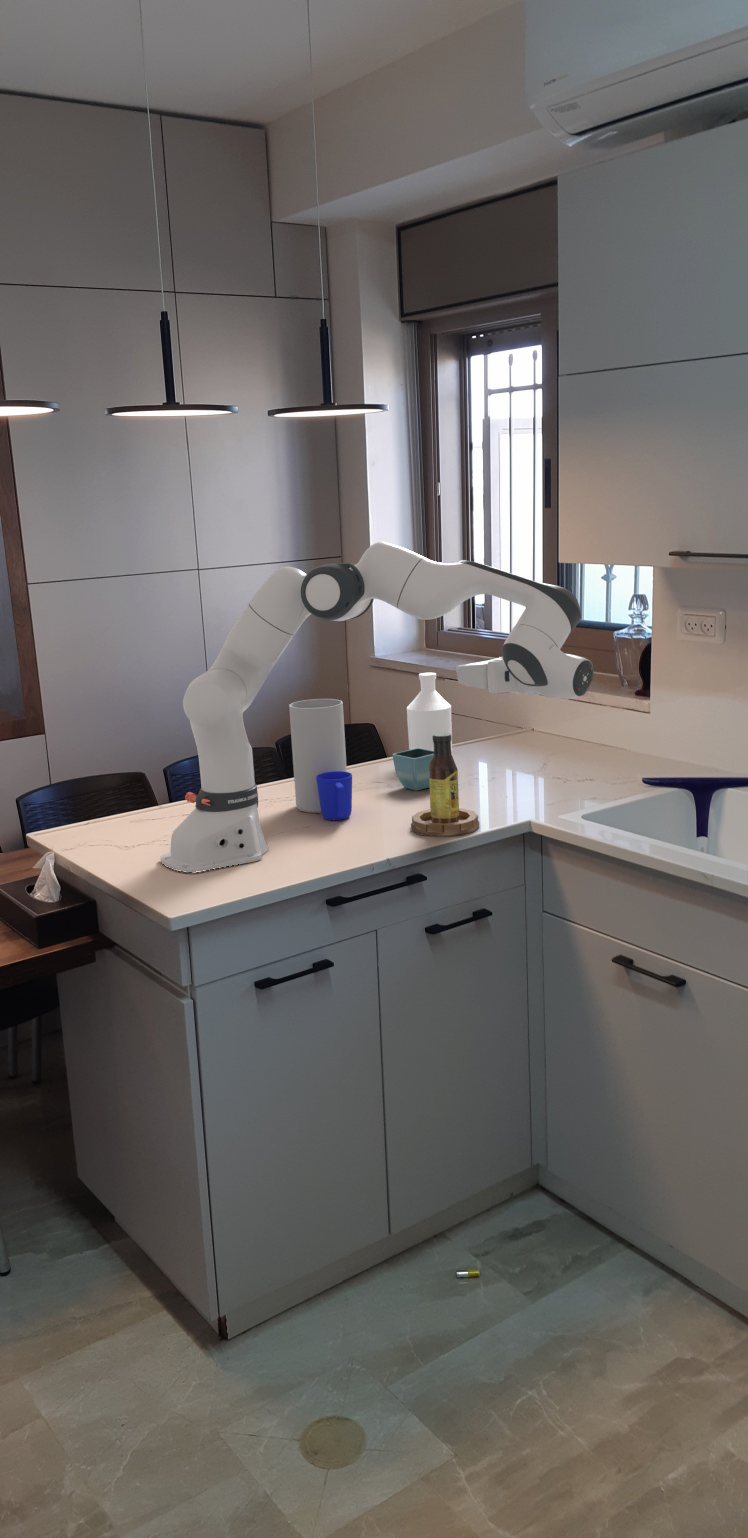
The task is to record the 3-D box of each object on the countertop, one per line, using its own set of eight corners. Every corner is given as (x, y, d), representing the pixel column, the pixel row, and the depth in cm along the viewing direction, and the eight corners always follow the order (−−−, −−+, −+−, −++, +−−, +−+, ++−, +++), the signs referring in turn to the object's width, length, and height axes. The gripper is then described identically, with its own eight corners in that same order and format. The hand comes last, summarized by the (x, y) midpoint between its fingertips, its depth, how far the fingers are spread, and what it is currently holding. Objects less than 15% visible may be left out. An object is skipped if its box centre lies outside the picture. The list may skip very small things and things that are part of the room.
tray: (442, 841, 244) (442, 830, 243) (397, 827, 255) (396, 817, 255) (493, 825, 253) (493, 815, 252) (447, 813, 264) (446, 803, 264)
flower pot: (392, 788, 290) (391, 753, 288) (419, 781, 295) (418, 747, 293) (415, 794, 283) (413, 758, 281) (442, 787, 288) (441, 752, 286)
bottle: (405, 763, 316) (401, 672, 311) (447, 759, 318) (444, 669, 312) (414, 772, 305) (410, 678, 299) (458, 768, 307) (454, 675, 301)
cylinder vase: (359, 804, 276) (353, 701, 271) (322, 816, 267) (315, 710, 262) (322, 797, 285) (315, 697, 279) (285, 809, 276) (278, 705, 270)
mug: (325, 828, 258) (322, 785, 255) (316, 814, 269) (313, 773, 267) (361, 824, 259) (358, 781, 257) (351, 811, 271) (348, 769, 269)
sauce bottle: (457, 827, 250) (454, 737, 246) (429, 827, 251) (425, 738, 247) (461, 819, 256) (458, 731, 252) (433, 819, 258) (429, 731, 253)
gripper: (559, 649, 235) (510, 645, 246) (486, 662, 223) (438, 657, 233) (559, 680, 236) (511, 674, 247) (487, 694, 224) (439, 688, 235)
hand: (475, 666), depth 240 cm, fingers open, 8 cm apart
